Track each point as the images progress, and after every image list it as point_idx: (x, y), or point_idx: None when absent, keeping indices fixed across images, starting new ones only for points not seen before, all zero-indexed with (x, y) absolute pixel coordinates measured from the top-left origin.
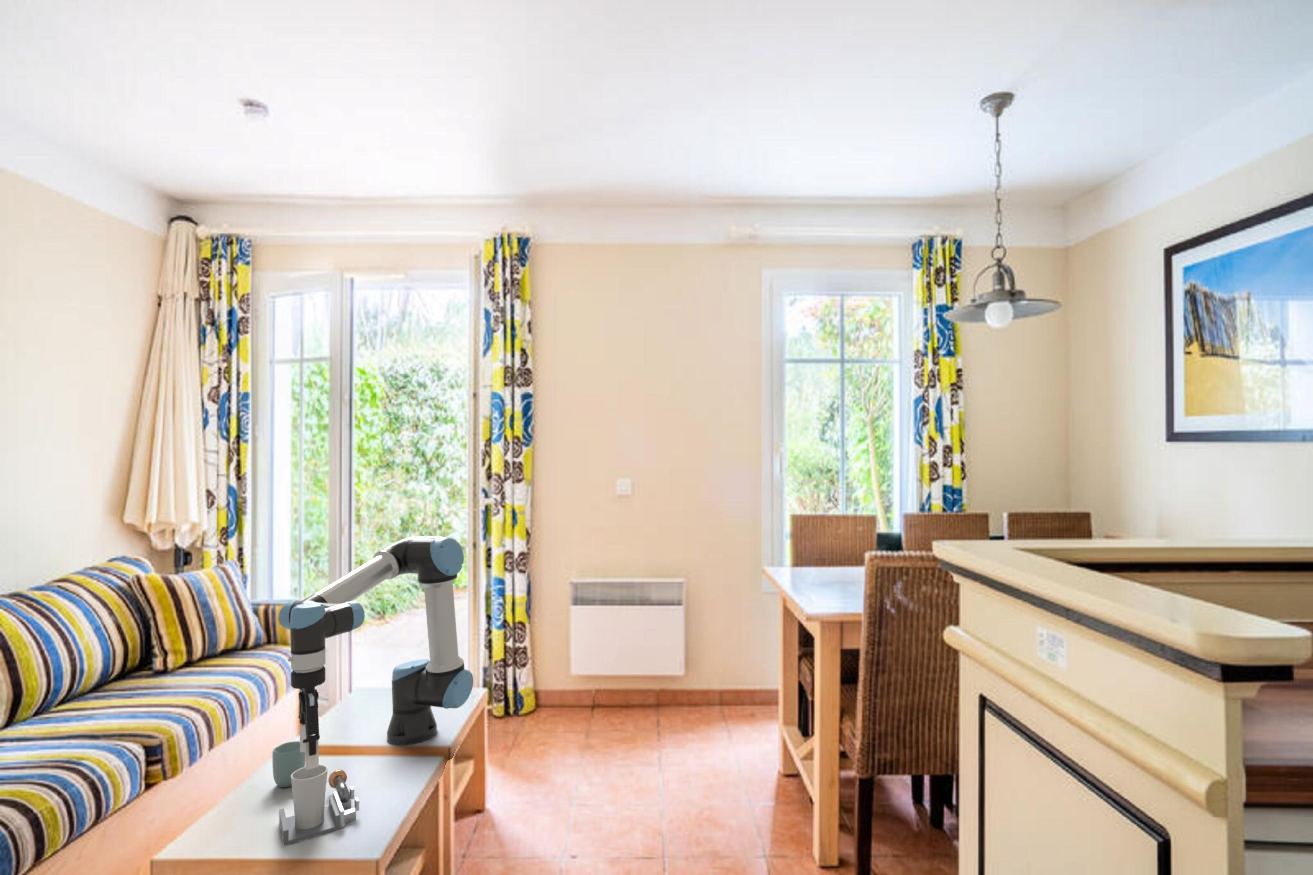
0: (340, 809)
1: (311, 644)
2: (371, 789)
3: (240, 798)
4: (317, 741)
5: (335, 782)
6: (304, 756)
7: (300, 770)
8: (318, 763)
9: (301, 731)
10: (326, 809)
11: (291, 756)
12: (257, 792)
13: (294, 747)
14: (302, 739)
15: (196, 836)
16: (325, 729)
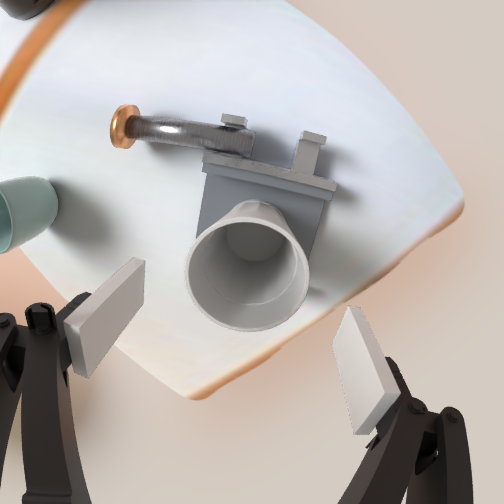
0: (324, 186)
1: None
2: (191, 64)
3: (56, 280)
4: (393, 386)
5: (152, 139)
6: (18, 184)
7: (194, 288)
8: (363, 314)
9: (101, 353)
10: (222, 180)
11: (20, 221)
12: (49, 253)
13: None
14: (120, 325)
15: (146, 361)
16: None
